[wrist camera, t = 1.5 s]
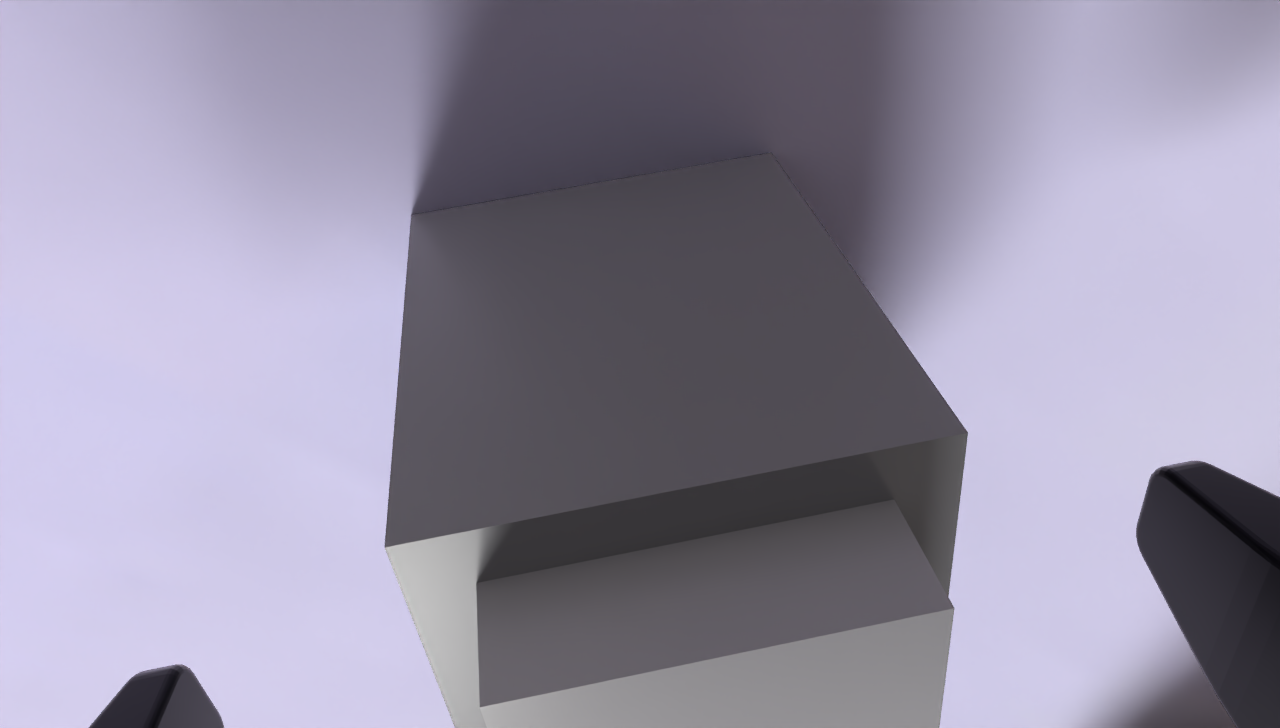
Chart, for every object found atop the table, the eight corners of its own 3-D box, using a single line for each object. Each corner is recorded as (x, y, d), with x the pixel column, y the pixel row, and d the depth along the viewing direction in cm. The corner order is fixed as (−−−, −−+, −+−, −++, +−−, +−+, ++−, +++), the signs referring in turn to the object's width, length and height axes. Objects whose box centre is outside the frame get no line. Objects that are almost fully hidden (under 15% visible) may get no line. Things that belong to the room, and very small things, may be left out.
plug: (770, 151, 11) (1041, 537, 6) (780, 480, 13) (965, 920, 9) (411, 213, 10) (374, 673, 5) (502, 535, 13) (531, 1020, 8)
